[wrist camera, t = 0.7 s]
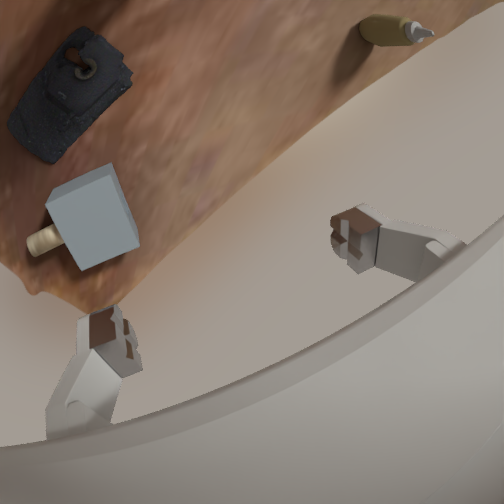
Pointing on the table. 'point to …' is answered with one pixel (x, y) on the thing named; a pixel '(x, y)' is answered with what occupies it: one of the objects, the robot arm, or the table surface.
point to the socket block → (93, 217)
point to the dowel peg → (44, 240)
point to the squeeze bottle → (392, 30)
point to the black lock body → (69, 95)
